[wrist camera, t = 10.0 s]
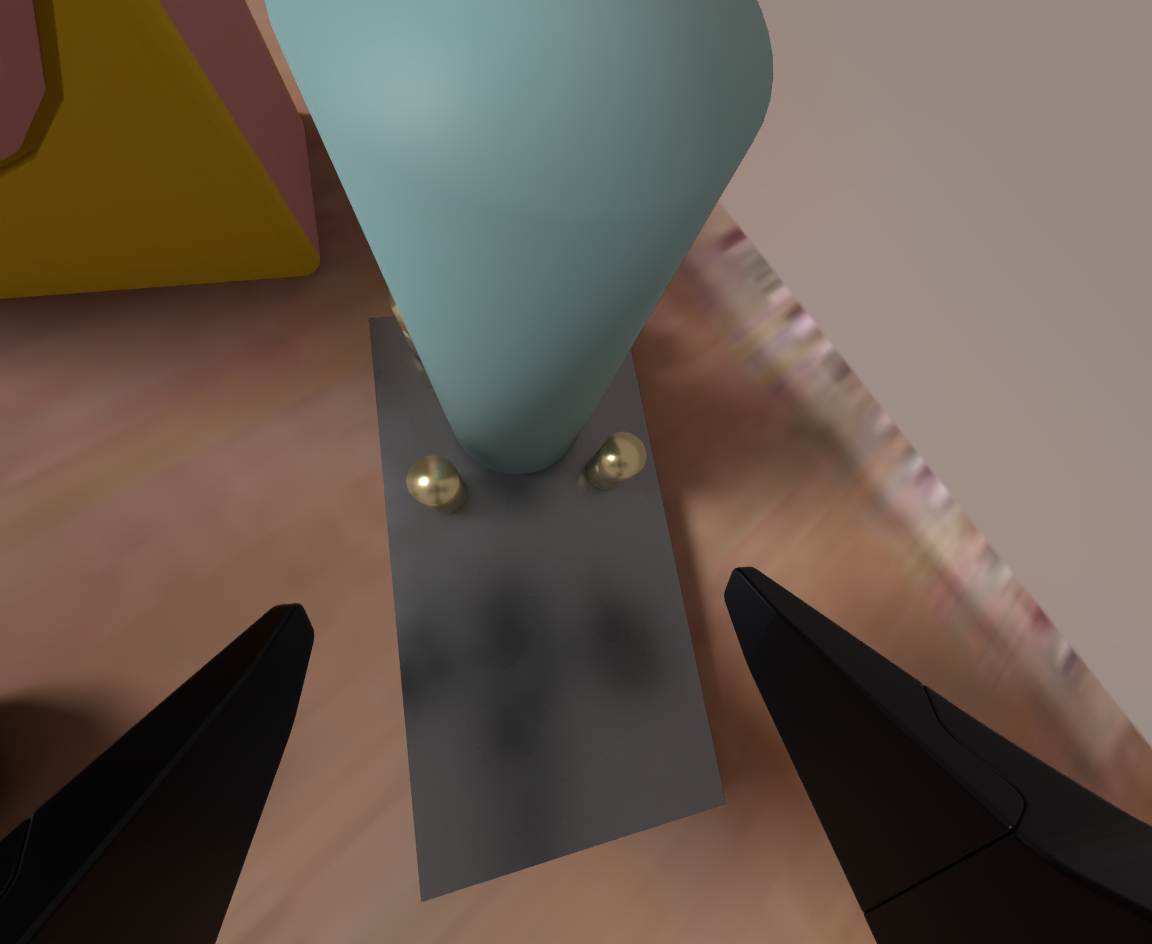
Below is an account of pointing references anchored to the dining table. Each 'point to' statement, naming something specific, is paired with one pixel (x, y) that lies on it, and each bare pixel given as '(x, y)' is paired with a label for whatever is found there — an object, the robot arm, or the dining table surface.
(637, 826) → the plate
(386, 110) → the teal rounded cylinder
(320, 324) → the dining table surface
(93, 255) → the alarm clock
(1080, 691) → the dining table surface
